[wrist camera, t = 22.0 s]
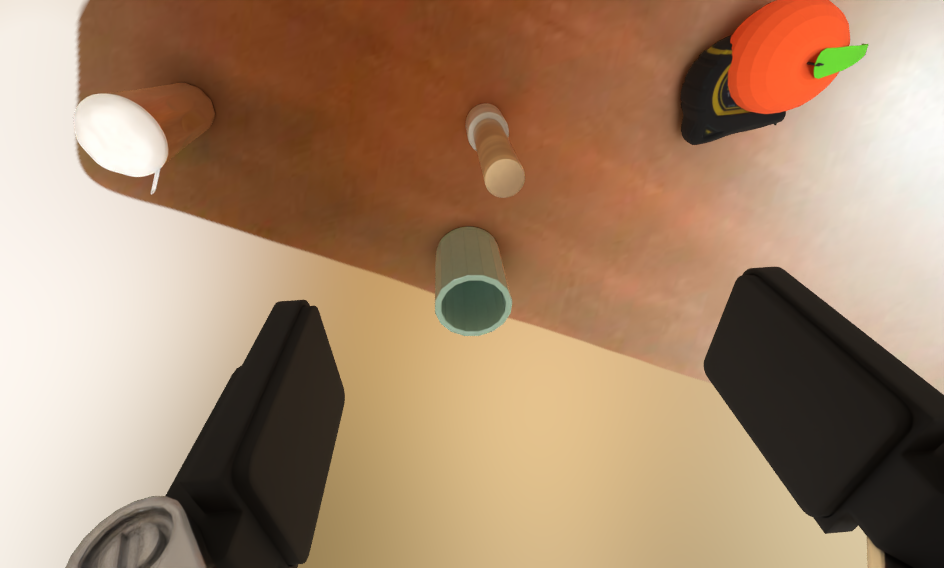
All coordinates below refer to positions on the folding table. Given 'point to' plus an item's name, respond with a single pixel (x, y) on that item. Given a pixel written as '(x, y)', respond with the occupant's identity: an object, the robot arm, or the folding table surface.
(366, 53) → the folding table surface
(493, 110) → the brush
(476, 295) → the cup
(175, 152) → the milkshake
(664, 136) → the folding table surface
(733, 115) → the tape measure
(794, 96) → the clementine
